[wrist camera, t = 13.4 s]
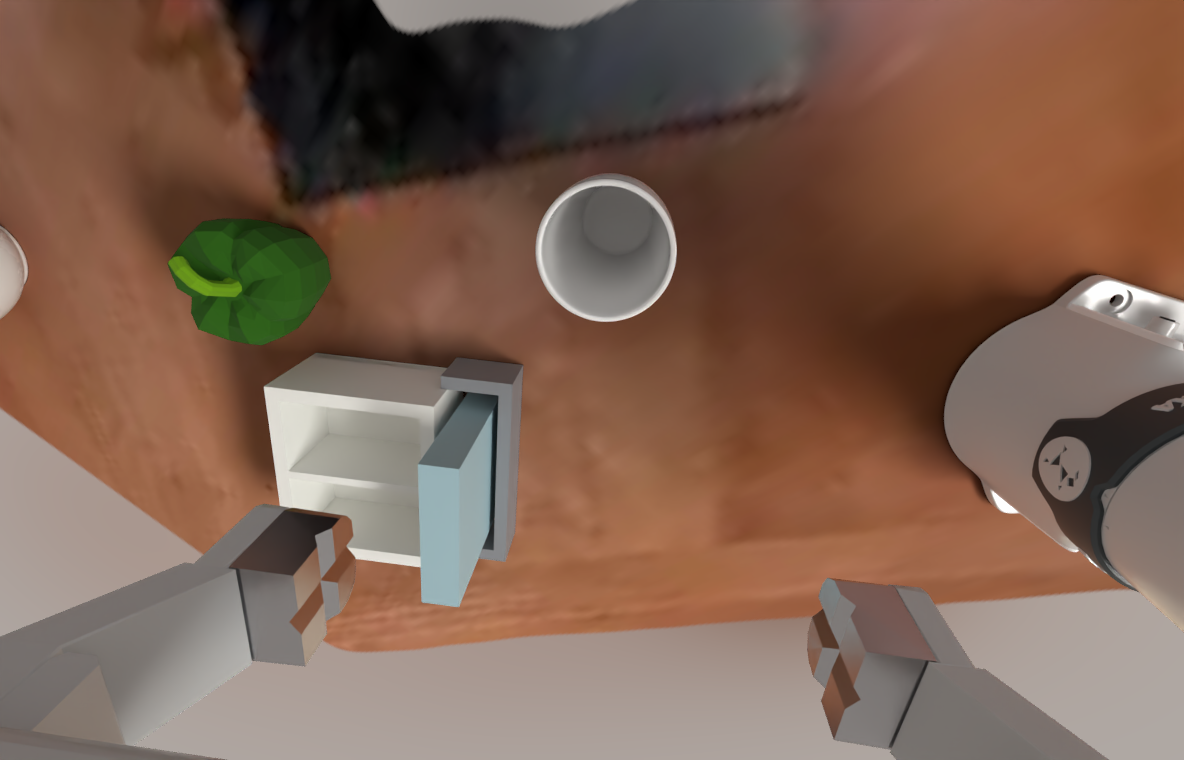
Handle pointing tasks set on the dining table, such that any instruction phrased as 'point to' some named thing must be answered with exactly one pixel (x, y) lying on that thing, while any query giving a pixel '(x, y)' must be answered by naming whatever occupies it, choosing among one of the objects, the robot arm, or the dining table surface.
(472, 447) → the door
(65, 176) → the dining table surface
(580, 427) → the dining table surface
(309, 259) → the bell pepper
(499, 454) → the cabinet
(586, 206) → the drinking glass
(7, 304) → the lidded jar
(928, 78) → the dining table surface
